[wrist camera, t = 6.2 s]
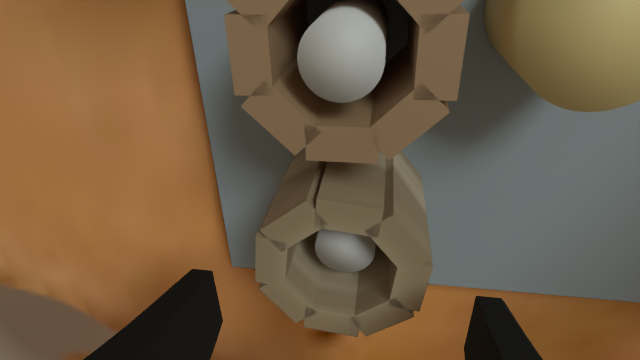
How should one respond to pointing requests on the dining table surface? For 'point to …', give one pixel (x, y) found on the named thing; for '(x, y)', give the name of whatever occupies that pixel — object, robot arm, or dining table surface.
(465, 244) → the gear board
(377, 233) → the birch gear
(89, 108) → the dining table surface
